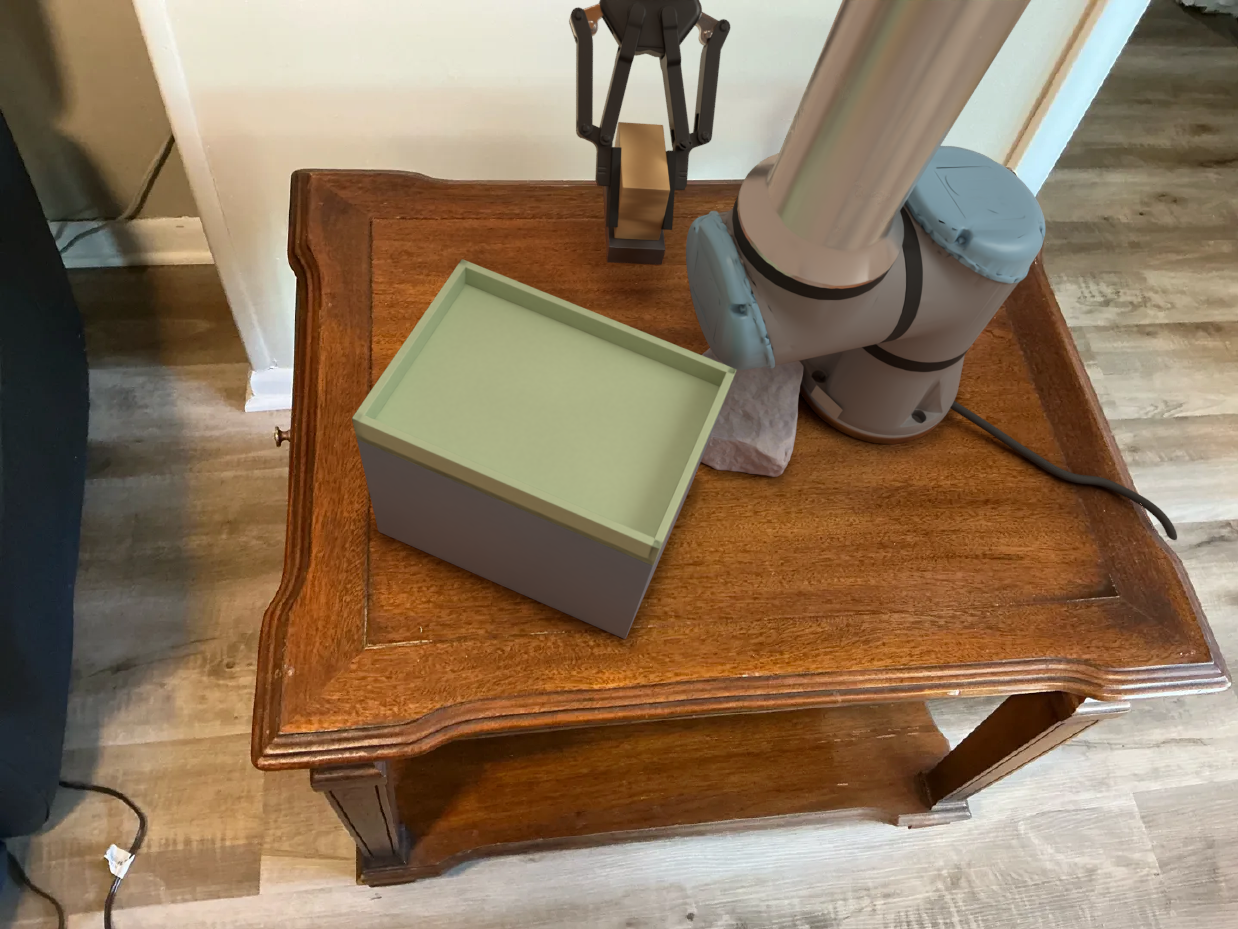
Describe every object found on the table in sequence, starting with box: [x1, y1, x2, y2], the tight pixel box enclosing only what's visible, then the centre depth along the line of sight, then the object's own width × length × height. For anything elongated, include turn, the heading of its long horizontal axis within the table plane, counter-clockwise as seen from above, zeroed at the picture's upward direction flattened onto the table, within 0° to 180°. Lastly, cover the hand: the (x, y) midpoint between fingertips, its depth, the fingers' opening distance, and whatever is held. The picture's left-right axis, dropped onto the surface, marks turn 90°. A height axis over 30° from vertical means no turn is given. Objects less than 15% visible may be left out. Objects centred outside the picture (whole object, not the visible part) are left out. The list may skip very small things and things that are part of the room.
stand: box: [356, 395, 727, 640], centre depth 70 cm, size 21×15×14 cm
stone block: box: [700, 347, 803, 478], centre depth 82 cm, size 12×5×10 cm
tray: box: [351, 258, 736, 566], centre depth 63 cm, size 21×15×3 cm
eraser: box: [602, 121, 670, 266], centre depth 82 cm, size 5×10×8 cm, turn 3°
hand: (638, 227), depth 81 cm, fingers closed on eraser, 4 cm apart
